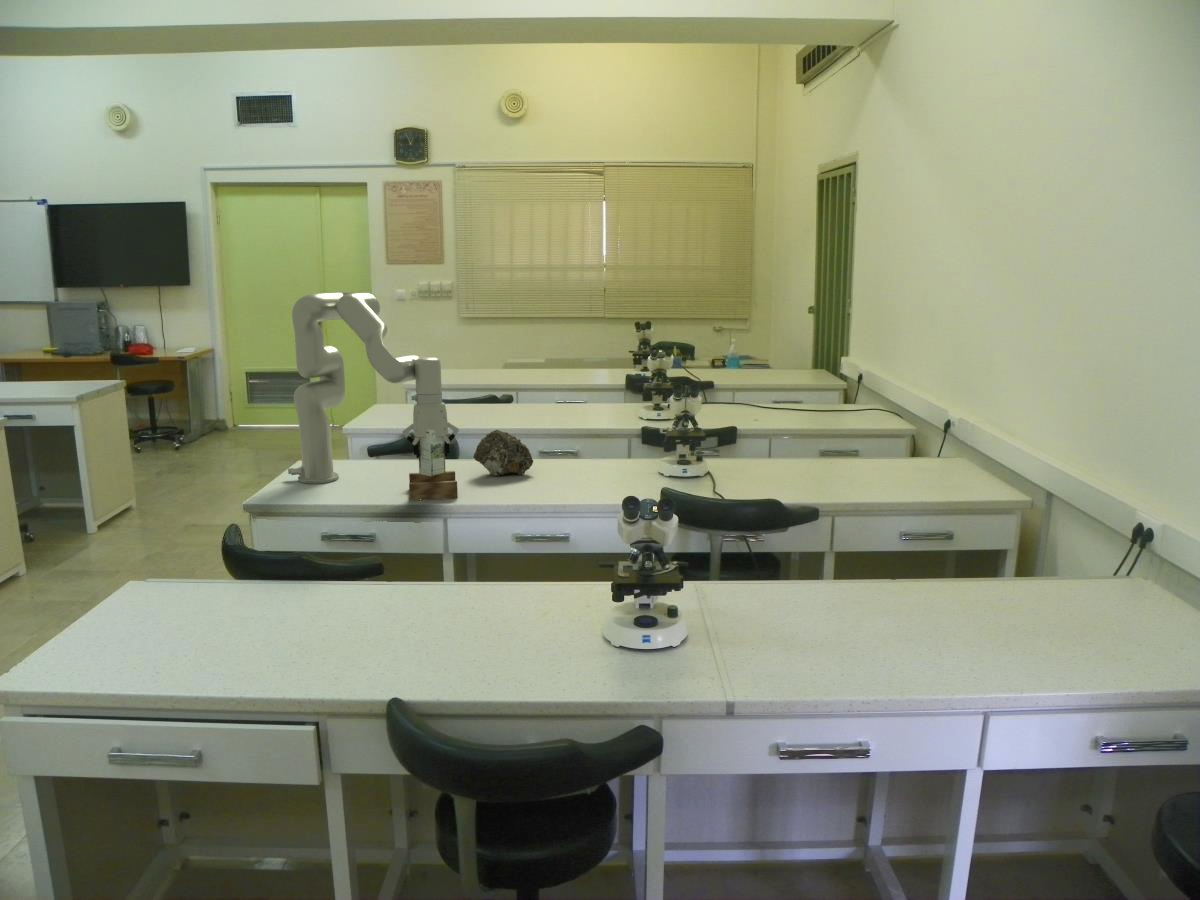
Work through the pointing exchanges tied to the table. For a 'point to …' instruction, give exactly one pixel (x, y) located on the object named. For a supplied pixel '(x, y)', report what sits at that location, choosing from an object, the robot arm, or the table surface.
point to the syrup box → (431, 454)
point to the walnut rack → (432, 486)
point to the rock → (503, 454)
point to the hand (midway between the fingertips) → (431, 456)
